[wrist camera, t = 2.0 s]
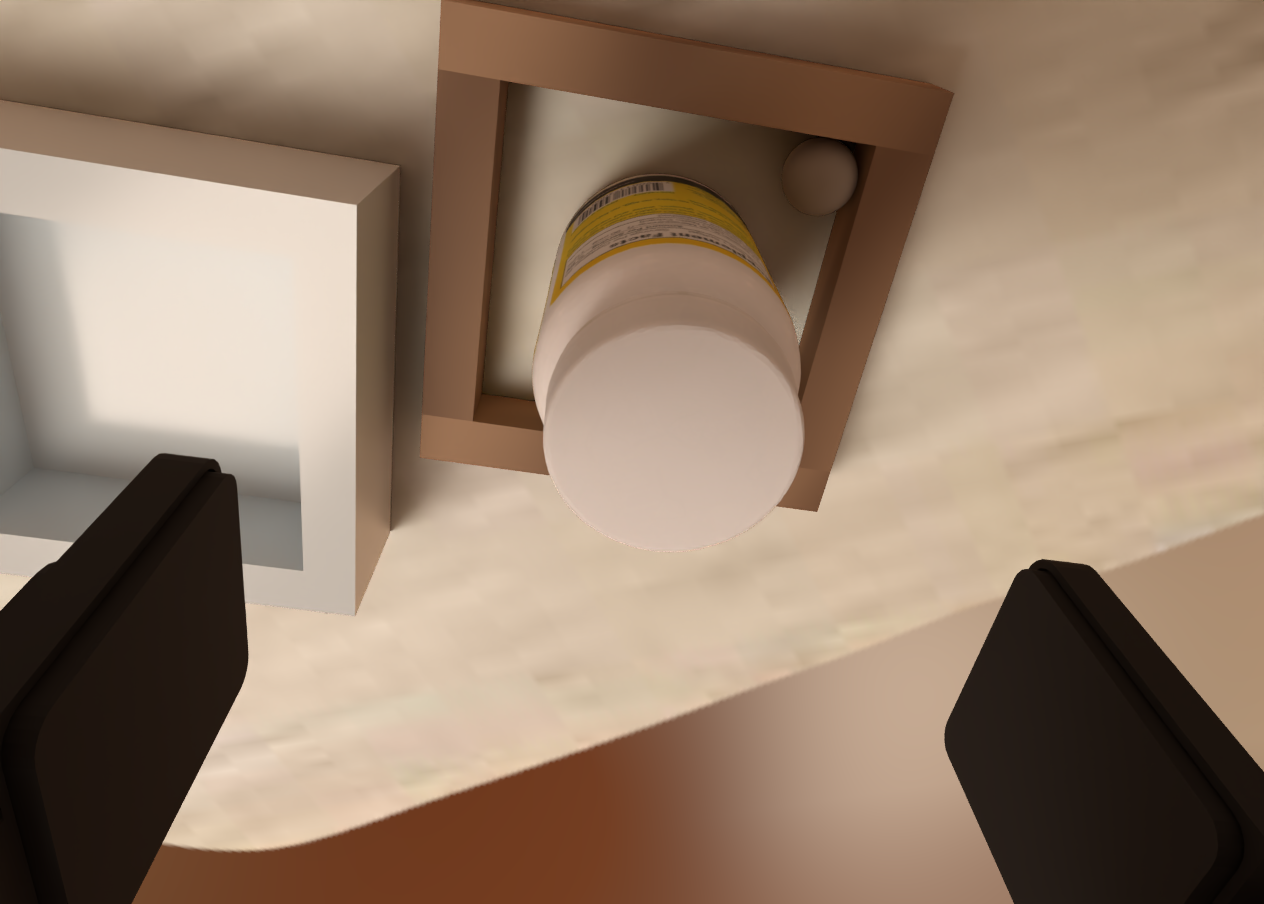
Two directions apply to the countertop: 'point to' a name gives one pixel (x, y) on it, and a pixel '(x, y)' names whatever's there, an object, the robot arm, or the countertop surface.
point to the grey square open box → (197, 340)
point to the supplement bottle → (666, 369)
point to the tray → (687, 82)
